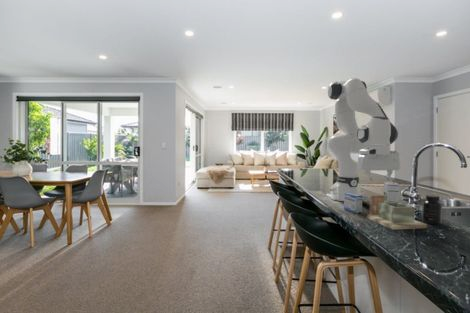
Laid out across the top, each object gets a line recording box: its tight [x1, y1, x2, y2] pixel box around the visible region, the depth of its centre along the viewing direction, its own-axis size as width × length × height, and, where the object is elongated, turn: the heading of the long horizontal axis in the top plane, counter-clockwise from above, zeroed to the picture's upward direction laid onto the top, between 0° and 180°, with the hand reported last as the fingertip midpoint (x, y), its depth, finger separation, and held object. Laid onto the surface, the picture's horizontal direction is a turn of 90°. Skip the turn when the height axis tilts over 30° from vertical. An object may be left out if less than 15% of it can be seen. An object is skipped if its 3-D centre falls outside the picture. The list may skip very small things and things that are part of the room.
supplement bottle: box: [421, 194, 443, 225], centre depth 120 cm, size 7×7×12 cm
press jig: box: [366, 201, 428, 231], centre depth 119 cm, size 16×16×8 cm
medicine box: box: [343, 193, 364, 214], centre depth 138 cm, size 8×4×9 cm, turn 23°
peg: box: [368, 193, 385, 215], centre depth 129 cm, size 4×4×10 cm
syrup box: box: [383, 181, 400, 203], centre depth 139 cm, size 6×6×14 cm
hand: (378, 179), depth 128 cm, fingers open, 8 cm apart
